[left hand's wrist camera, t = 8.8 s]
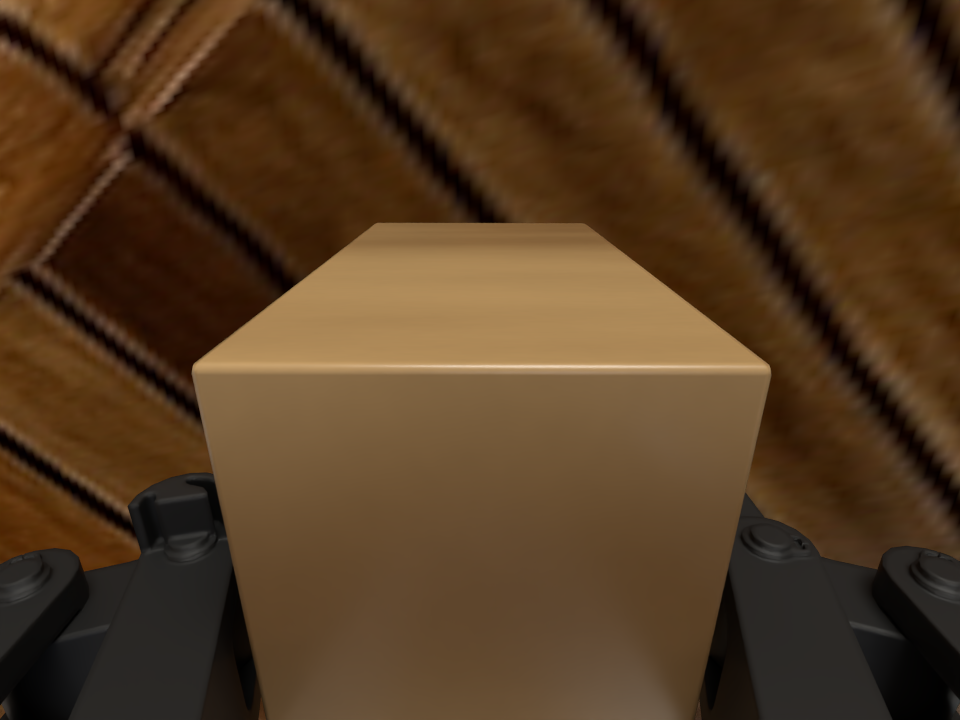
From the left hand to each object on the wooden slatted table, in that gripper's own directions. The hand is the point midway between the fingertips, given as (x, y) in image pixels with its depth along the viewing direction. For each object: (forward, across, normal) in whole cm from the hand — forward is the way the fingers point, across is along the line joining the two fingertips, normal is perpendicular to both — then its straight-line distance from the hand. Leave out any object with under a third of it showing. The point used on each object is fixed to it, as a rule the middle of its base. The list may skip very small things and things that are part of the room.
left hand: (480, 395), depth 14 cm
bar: (+1, 0, -8) cm, 8 cm away
